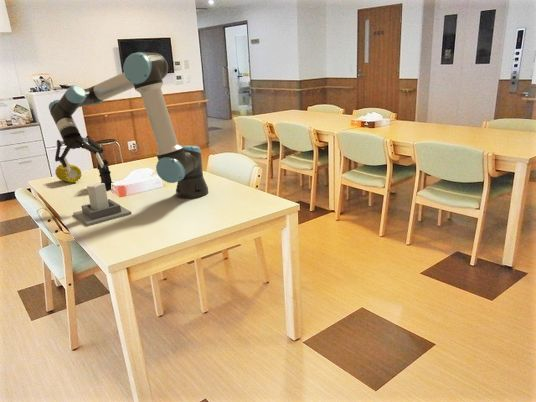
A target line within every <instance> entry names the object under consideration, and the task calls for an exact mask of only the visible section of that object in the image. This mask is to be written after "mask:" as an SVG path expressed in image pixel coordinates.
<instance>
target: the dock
mask: <svg viewBox="0 0 536 402" xmlns="http://www.w3.org/2000/svg"><path fill="white" fill-rule="evenodd" d="M108 204H109V207H107V208H103V209H99V210H95V211H93V210H91V205H90V203H87V204H84V205H81V206H80V207H81V210H78V211H75V212H73V213H72V215H73V217H75V218H77V219H78V220H79V221H80V222H82V223H83V224H84V225H86V226H87V227H89V226H93V225H97V224H101V223H104V222H108V221H111V220H114V219H119V218H122V217H125V216H130V215H132V211H131V210H130V209H129V210H128V209H127V208H125V207H123V206H122V205H120V204H119V203H117V202H115V201H113V199H112V200H111V199H108Z"/></svg>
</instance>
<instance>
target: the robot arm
mask: <svg viewBox="0 0 536 402" xmlns="http://www.w3.org/2000/svg"><path fill="white" fill-rule="evenodd" d="M168 71H169V65H168V62H167V60H166V58H165V57H164V56H163V55H162V54H160V53H158V52H142V51H137V52H134V53H133V52H132V53H131V54H129V55H128V56H127V57H126V58H125V60H124V62H123V72H121V73H120V74H117V75H115V76H113V77H110V78H108V79H106V80H104V81H101V82H99V83H97V84H94V85H92V86H91V87H88V88H82V87H81V86H79V85H75V84H73V85H70V86H69V87H68V89H66V91H65V92H64V93H63V95H62V97H61V98H60V99H55V100H53V101H51V102H49V104H48V110H49V113H50V115H51V117H52V120H53V122H54V123H55V125H56V128H57V130H58V133H59V134H60V137H61V139H62V140H60V139H57V140H56V153H55V157H54V161H55V162H59V163H60V164H62V165H63V167H66V169H67V171H68V173H69V174H71V168H70V166H69V164H70V163H69V161H68V160H67V155H68V153H69V152H70V150H71V149H72V150H75V149H83V150H85V151H89V152H90V153H91V154H94V155H95V158H96V159H97V161H98V162H97V163H98V164H100V166H101V168H103V166H104V163H103V161H102V160H104V158H103V157H104V156H103V153H104V148H103V147H102V146H101V145H99V144H98V143H97V142H96V141H94V140H93V139H92V137H91V136H90V135H86V136H85V137H83V136H82V135H81V133H80V131H79V129H78V126H77V124H76V122H75V120H74V118H73V117H72V116H73V115H74V114H75V112H76V111H77V109H78V108H82V107H87V106H95V105H100V104H101V103H104V101H105V100H108V99H110V98H113V97H114V96H117V95H119V94H122V93H124V92H127V91H129V90H131V89H134V90H135V91H136V92H138V93H139V94H140V96H141V99H142V102H143V105H144V109H145V111H146V112H145V113H146V115H147V117H148V121H149V123H150V124H149V125H150V127H151V130H152V134H153V136H154V139H155V143H156V145H157V148H158V150H157V152H156V157H157V163H156V166H155V168H156V169H155V170H156V174H157V175H158V177H159V178H160V179H161V180H163V181H164V182H167V184H169V183H170V184H175V183H177V184H176V189H175V196H176V197H178V198H180V199H195V198H200V197H201V198H202V197H204V196H207V194H209V186H208V184H207V183H206V180H205V177H204V172H203V162H202V161H203V159H202V152H201V151H202V150H201V148H200V146H199V145H180V144H179V141H178V139H177V135H176V133H175V130H174V126H173V123H172V120H171V116H170V113H169V110H168V107H167V104H166V100H165V98H164V94H163V91H162V86H163V85H164V81H163V80H164V79H165V77H166V76H167V75H168V73H169V72H168ZM63 145H64V146H65V149H64V150H63V152H62V153H61V147H62V146H63ZM60 153H61V155H60Z"/></svg>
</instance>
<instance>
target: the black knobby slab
mask: <svg viewBox="0 0 536 402" xmlns="http://www.w3.org/2000/svg"><path fill="white" fill-rule="evenodd" d="M102 161H103V163H104V166H103V168H101V166H100V164H99V163H98V164H97V168H96V169H97V170H98V173H99V175H98V176H99V177H100V181H101V182H100V183H105V188H106V191H111V190H110V189H111V183H113V184H114V182H113V181H112V177H111V170H110V168H109V165H108V163H109V161H108V160H107V159H106V158H105V159H103V160H102Z"/></svg>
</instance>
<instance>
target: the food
mask: <svg viewBox="0 0 536 402" xmlns="http://www.w3.org/2000/svg"><path fill="white" fill-rule="evenodd" d="M68 164H69V166H70V168H71V174H69V173H68V171H67V169H66V167H63V165H62V163H60V164H58V166H56V167H55V174H54V175H56V178H58V179H59V180H61V181H64V182H68V183H76V182H79V180H81V178H82V171H81V168H79V167H78V166H77V165H74V164H70V163H68Z"/></svg>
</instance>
